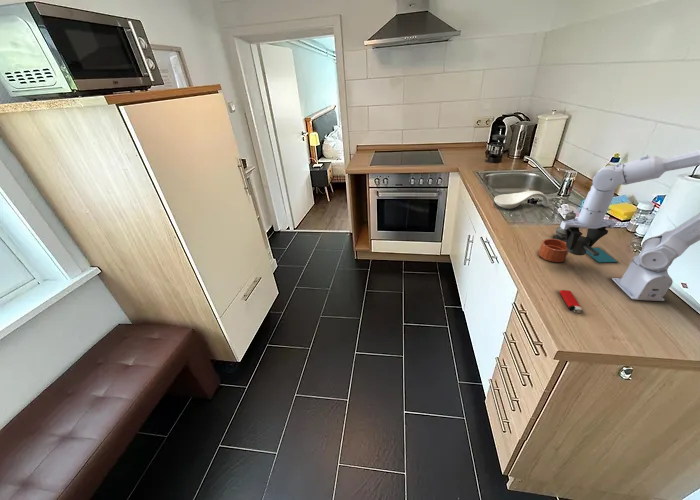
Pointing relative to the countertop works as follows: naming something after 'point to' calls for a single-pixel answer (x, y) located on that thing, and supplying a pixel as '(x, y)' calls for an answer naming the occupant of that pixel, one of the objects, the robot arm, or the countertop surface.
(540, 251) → the bowl
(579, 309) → the lighter
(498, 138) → the french press
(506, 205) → the spoon rest
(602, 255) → the cloth
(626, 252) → the countertop surface
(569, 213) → the grey tall lumpy piece
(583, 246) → the scoop
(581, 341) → the countertop surface
